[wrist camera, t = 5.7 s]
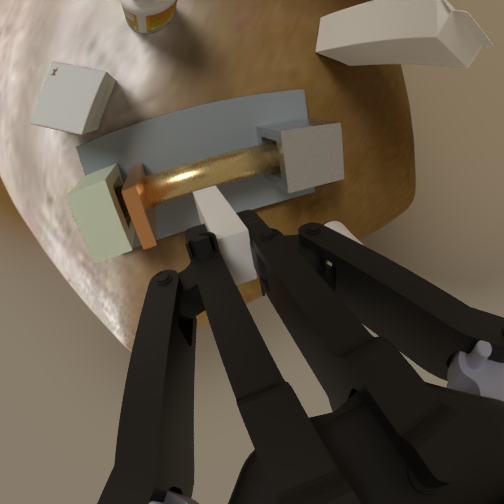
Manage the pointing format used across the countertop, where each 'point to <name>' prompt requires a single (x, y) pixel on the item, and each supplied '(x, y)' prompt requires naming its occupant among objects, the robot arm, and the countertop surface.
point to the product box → (72, 98)
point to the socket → (101, 214)
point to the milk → (401, 34)
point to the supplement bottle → (148, 14)
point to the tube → (188, 183)
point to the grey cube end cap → (304, 152)
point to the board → (198, 151)
